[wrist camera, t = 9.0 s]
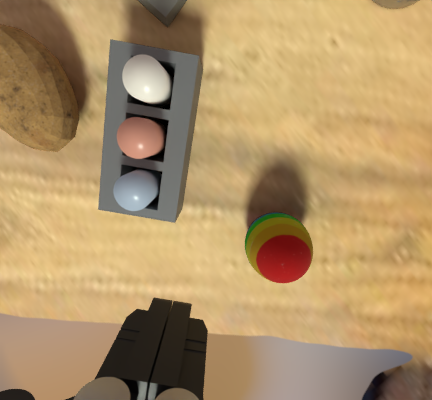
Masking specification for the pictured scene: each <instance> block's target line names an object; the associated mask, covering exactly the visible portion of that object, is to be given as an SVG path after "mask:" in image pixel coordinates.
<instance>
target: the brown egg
mask: <svg viewBox="0 0 432 400" xmlns="http://www.w3.org/2000/svg"><path fill="white" fill-rule="evenodd" d="M166 138H167V129H166V128H165V126H164V125H163V124H161V123H160V122H158V121H154V120H150V119H145V118H140V117H131V118H128V119H126V120H125V121H123V122H122V123H121V125H120V126H119V128H118V131H117V142H118V145H119V147H120V149H121V150H122V151H123V152H124V153H125V154H126V155H127V156H129V157H131V158H135V159H142V158H146V157H149V156H152V155H155V154H159V153H161V152H162V151H164V150H165V146H166Z"/></svg>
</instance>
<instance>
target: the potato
mask: <svg viewBox="0 0 432 400" xmlns="http://www.w3.org/2000/svg"><path fill="white" fill-rule="evenodd" d="M78 121H79V114H78V104H77V101H76V98H75V95H74V92H73V89H72V87H71V85H70V82H69V80H68V78H67V76H66V74H65V72H64V70H63V68H62V66H61V65H60V63H59V61H58V59H57V58H56V57H55V56H54V55H53V54H52V53H51V52H50V51H49V50H48V49H47V48H46V47H44V46H43V45H42V44H41V43H40V42H38V41H37V40H36V39H34V38H33V37H31V36H30V35H28V34H27V33H25V32H24V31H23V30H21V29H17V28H14V27H10V26H5V25H0V128H1V129H2V130H4V131H5V132H7V133H8V134H9V135H11V136H12V137H13V138H14V139H16V140H18V141H19V142H21V143H23V144H25V145H27V146H29V147H31V148H33V149H38V150H43V151H53V152H58V151H59V150H60V149H62V148H63V147H64V146H65V145H66V144H67V143H69V142H70V141H71V140H72V139H73V138H74V137H75V135H76V130H77V126H78Z"/></svg>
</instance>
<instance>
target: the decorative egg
mask: <svg viewBox="0 0 432 400" xmlns="http://www.w3.org/2000/svg"><path fill="white" fill-rule="evenodd" d="M245 250H246V254H247V258H248V260H249V262H250V264H251V265H252V267H253V268H254V269H255V270H256V271H257V272H258V273H259V274H260V275H261V276H263V277H264V278H266V279H268V280H270V281H272V282H276V283H289V282H293V281H296V280H298V279H299V278H301V277H302V276H303V275H304V274H305V273H306V271H307V270H308V268H309V267H310V264H311V261H312V257H313V246H312V241H311V238H310V235H309V233H308V231H307V230H306V228H305V227H304V226H303V225H302V224H301V223H300V222H299V221H298V220H297V219H295V218H294V217H292V216H290V215H287V214H284V213H277V212H276V213H268V214H265V215H263V216H261V217H259V218H258V219H256V220H255V221H254V222H253V223H252V224H251V226H250V227H249V229H248V231H247V234H246V238H245Z"/></svg>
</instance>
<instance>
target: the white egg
mask: <svg viewBox="0 0 432 400" xmlns="http://www.w3.org/2000/svg"><path fill="white" fill-rule="evenodd" d="M122 79H123V84H124V86H125V88H126V90H127V91H128V93H129V94H130V95H131V96H133V97H134V98H136V99H139V100H141V101H143V102H146V103H148V104H150V105H153V106H156V107H162V106H165V105H167V104H169V103H170V102H171V99H172V91H173V83H174V81H173V79H172V77H171V76H170V75H169V74H168V72H167V71H166V70H165V69H164V68H163V67H162V66H161V64H160V63H159V62H158V61H157V60H156V59H155V58H153V57H151V56H149V55H144V54H141V55H136V56H134V57H132V58H130V59H129V60H128V61H127V63H126V64H125V66H124V69H123V73H122Z"/></svg>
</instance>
